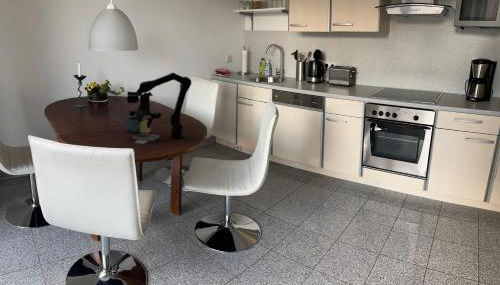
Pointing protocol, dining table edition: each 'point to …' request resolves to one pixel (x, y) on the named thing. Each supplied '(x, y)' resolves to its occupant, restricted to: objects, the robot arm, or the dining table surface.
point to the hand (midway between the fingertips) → (145, 127)
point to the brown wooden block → (144, 126)
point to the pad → (141, 141)
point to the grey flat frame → (142, 136)
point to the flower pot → (132, 124)
